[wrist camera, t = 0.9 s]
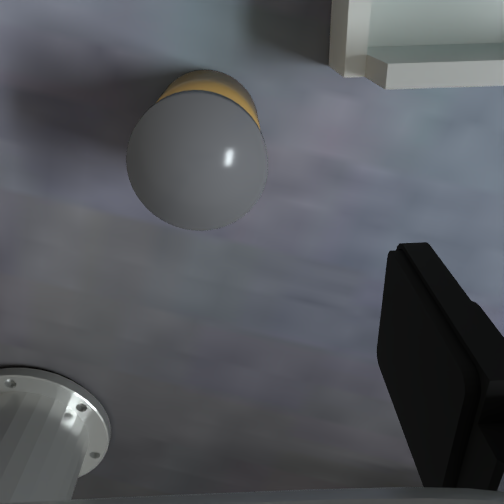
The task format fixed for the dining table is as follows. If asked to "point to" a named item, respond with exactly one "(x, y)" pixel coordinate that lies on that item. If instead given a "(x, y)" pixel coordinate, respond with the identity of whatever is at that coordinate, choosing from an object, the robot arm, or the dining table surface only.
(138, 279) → the dining table surface
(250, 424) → the dining table surface
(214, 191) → the amber jar
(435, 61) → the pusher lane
